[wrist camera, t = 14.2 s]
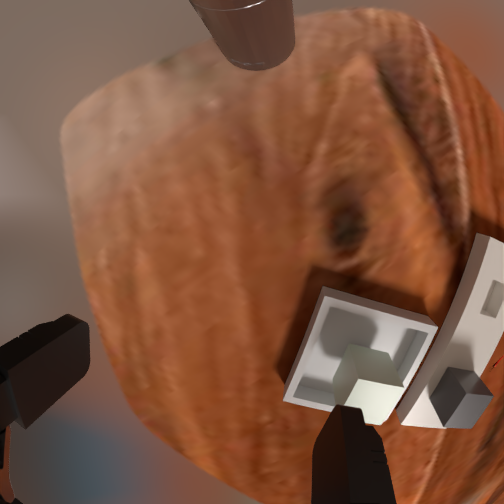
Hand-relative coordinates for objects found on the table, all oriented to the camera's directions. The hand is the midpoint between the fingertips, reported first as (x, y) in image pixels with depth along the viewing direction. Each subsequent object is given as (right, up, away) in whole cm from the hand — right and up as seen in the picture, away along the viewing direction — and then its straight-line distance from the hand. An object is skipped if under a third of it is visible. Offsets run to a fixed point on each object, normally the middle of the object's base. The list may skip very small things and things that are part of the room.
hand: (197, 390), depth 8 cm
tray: (+15, -9, +28) cm, 34 cm away
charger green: (+15, -9, +28) cm, 33 cm away
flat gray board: (+31, -8, +26) cm, 41 cm away
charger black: (+29, -14, +26) cm, 42 cm away
